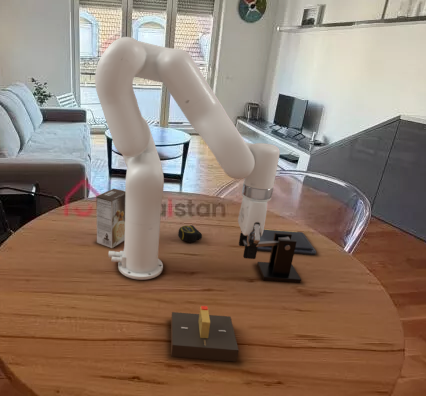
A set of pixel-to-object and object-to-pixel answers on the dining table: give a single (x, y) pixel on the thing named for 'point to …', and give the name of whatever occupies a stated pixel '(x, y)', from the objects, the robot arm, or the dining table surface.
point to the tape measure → (189, 234)
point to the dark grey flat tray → (301, 240)
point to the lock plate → (203, 347)
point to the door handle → (267, 242)
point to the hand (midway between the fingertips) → (246, 251)
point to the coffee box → (111, 218)
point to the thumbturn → (204, 322)
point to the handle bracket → (280, 261)
